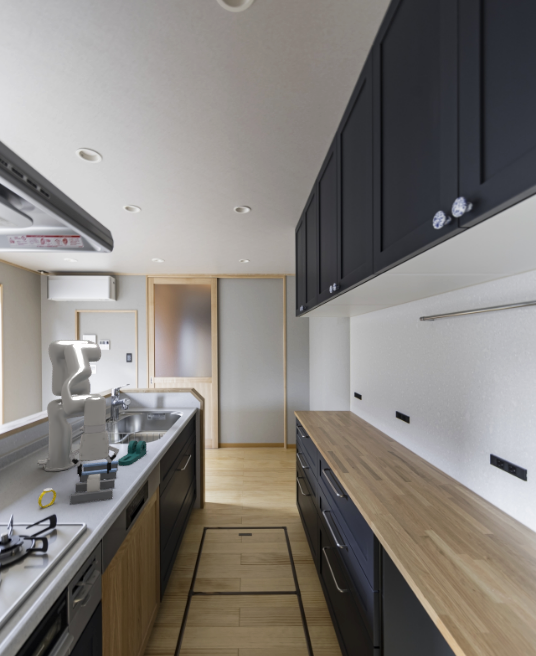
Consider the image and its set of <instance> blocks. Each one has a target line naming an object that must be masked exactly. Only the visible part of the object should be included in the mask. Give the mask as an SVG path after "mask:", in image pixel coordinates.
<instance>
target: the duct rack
mask: <svg viewBox="0 0 536 656" xmlns="http://www.w3.org/2000/svg"><path fill="white" fill-rule="evenodd" d="M107 462H108V461H101V462H91V463H83V464H82V475H81V477H79V482H82V483H78V482H77V483H75V485H74V493H71V494H70V496H69V499H70V500H69V505H78V504H85V503H91V502H92V503H93V502H99V501H100V500H101V501H108V500H113V498H112V497H113V494H114V493H113V492H114V491H113V489H115V484H116V482H115V480H116V479H117V471H118V469H119V468H118V467H119V465H118V460H113V461H112V462H111V470H110V471H109V474H107ZM94 474H100V491H95V492H85V491H87V479H88V476H89V475H94ZM113 478H116V479H113ZM104 479H108V480H104ZM109 488H111V489H109ZM102 489H103V490H102ZM107 499H108V500H107ZM101 501H100V502H101Z"/></svg>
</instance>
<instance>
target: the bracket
mask: <svg viewBox="0 0 536 656" xmlns="http://www.w3.org/2000/svg"><path fill="white" fill-rule="evenodd" d="M145 454H146V455H147V442H146V440H139V441H138V440H130V441H129V442H128V444H127V453H126V454H125V455H123V456H121V457H120V458H119V459H118V460H117V461H118V467H127V466H131V465H133V464H134V462H135V463H136V462H137V461H139V460H140V459H142V458H143V457H145V456H146V455H145ZM144 455H145V456H144ZM141 457H142V458H141ZM138 459H139V460H138Z"/></svg>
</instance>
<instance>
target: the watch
mask: <svg viewBox="0 0 536 656" xmlns="http://www.w3.org/2000/svg"><path fill="white" fill-rule="evenodd" d="M47 493H52V495H53V496H52V499H51V500H50V502H49V503H47V504H45V505H43V504H42V500H43V498H44V496H45V495H46V494H47ZM56 499H57V492H56V490H54V489H53V488H52V487H47V488H44V489H43V491H42V492H41V493H40V495H39V497H38V498H37V504H38V506H39V507H40V508H44V509H45V508H48V507H50V506H53V504H54V503H55V501H56Z"/></svg>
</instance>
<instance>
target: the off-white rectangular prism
mask: <svg viewBox="0 0 536 656" xmlns="http://www.w3.org/2000/svg"><path fill="white" fill-rule="evenodd" d="M100 481H101V480H100V474H94V475H89V476H88V479H87V492H95V491H101V490H100ZM87 492H86V493H87Z"/></svg>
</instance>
